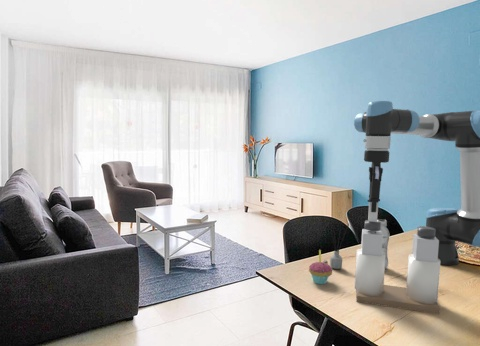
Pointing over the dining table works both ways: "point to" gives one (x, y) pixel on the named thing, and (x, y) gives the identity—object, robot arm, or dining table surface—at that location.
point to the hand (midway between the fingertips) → (372, 221)
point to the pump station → (418, 276)
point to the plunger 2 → (426, 232)
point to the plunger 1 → (372, 226)
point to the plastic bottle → (385, 239)
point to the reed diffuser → (336, 253)
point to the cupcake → (320, 271)
